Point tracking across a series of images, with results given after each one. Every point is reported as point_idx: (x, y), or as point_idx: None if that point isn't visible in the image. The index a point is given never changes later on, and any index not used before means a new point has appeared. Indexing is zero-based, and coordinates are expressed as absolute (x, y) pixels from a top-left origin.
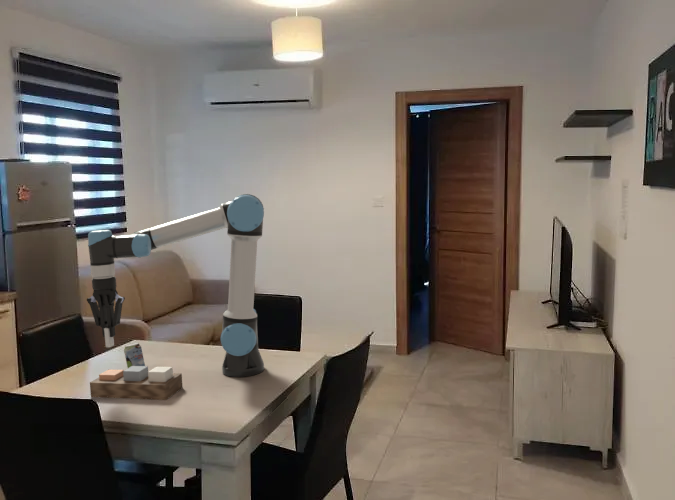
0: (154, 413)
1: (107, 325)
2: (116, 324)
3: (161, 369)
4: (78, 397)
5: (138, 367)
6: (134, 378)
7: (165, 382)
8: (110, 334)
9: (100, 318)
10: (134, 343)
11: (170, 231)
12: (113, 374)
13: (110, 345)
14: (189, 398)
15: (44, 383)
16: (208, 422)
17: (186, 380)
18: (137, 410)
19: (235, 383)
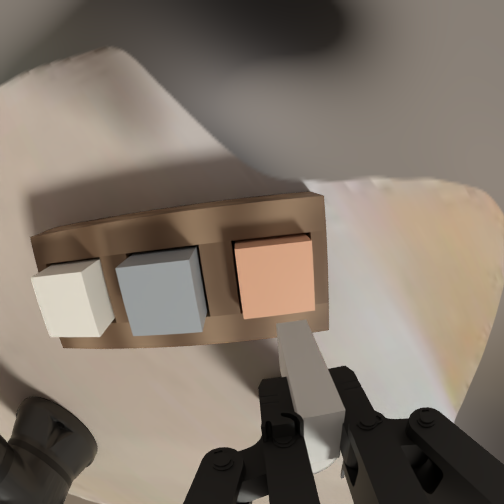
0: (32, 132)
1: (344, 457)
2: (204, 464)
3: (59, 306)
4: (351, 182)
5: (158, 317)
6: (146, 256)
7: (43, 261)
8: (283, 390)
9: (415, 480)
10: (312, 471)
11: None
12: (247, 256)
13: (278, 337)
14: (19, 254)
15: (493, 270)
16: None
17: (116, 378)
18: (80, 131)
19: (12, 362)
